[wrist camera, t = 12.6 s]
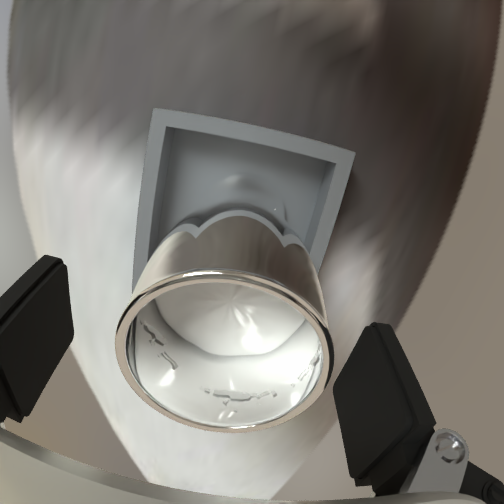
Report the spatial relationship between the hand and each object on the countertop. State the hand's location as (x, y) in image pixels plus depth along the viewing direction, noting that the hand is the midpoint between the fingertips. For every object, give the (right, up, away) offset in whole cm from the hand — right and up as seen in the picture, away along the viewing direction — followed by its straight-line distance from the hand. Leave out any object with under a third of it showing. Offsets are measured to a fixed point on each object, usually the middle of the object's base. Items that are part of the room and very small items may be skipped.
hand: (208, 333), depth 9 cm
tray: (0, +5, +14) cm, 15 cm away
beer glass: (0, +5, +14) cm, 14 cm away
